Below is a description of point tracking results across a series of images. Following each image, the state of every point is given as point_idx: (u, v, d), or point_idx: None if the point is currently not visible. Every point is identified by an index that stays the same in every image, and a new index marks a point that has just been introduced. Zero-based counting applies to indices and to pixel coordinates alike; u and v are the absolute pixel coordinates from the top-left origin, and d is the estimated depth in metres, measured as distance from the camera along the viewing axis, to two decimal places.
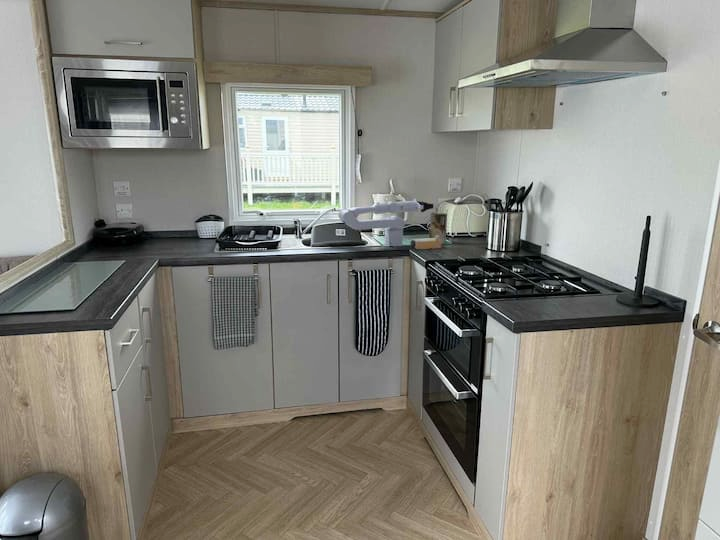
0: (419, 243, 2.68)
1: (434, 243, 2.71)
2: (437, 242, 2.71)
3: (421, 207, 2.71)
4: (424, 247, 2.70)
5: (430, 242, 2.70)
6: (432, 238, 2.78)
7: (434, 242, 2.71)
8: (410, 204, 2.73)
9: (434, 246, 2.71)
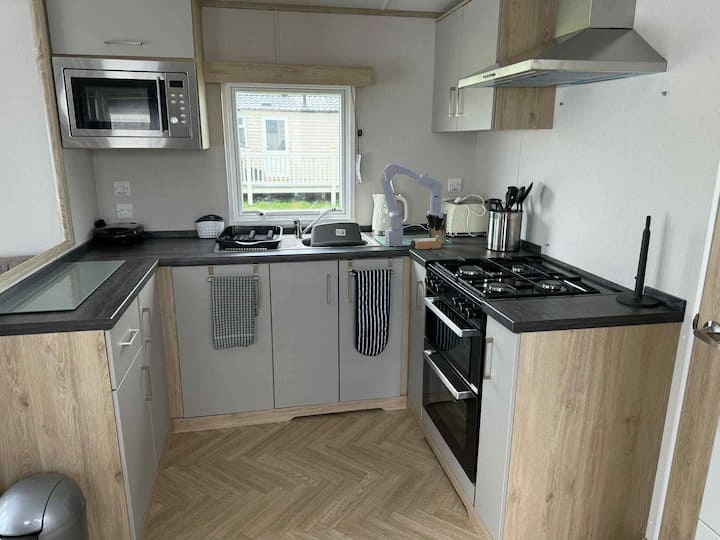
0: (419, 243, 2.68)
1: (434, 243, 2.71)
2: (437, 242, 2.71)
3: (441, 215, 2.65)
4: (424, 247, 2.70)
5: (430, 242, 2.70)
6: (432, 238, 2.78)
7: (434, 242, 2.71)
8: (439, 206, 2.69)
9: (434, 246, 2.71)
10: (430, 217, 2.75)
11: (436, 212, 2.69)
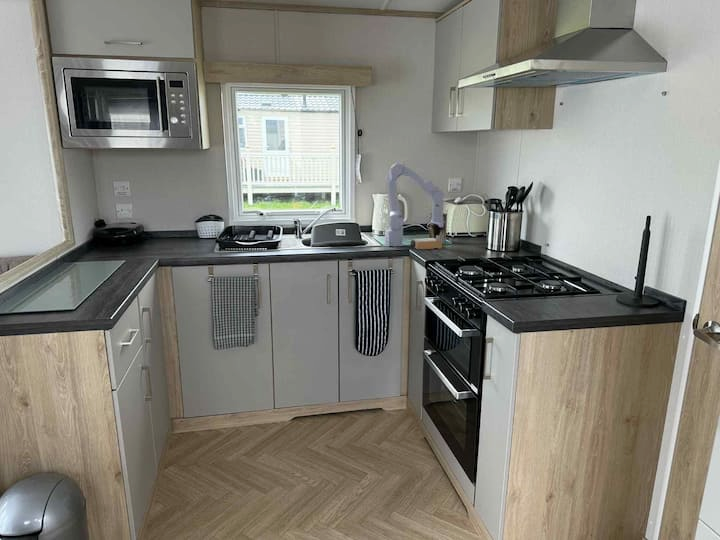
0: (419, 243, 2.68)
1: (434, 243, 2.70)
2: (438, 242, 2.71)
3: (441, 225, 2.63)
4: (424, 247, 2.69)
5: (430, 242, 2.70)
6: (432, 238, 2.78)
7: (434, 242, 2.70)
8: (441, 215, 2.67)
9: (434, 246, 2.71)
10: None
11: (437, 221, 2.67)
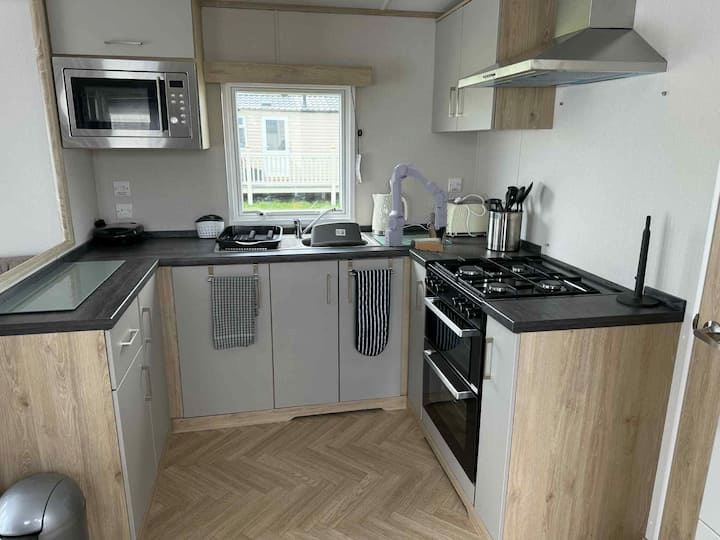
0: (418, 243, 2.67)
1: (434, 246, 2.64)
2: (438, 245, 2.63)
3: (436, 227, 2.56)
4: (424, 248, 2.67)
5: (430, 244, 2.65)
6: (432, 238, 2.78)
7: (434, 245, 2.64)
8: (442, 218, 2.59)
9: (434, 249, 2.64)
10: (438, 229, 2.64)
11: (437, 223, 2.60)
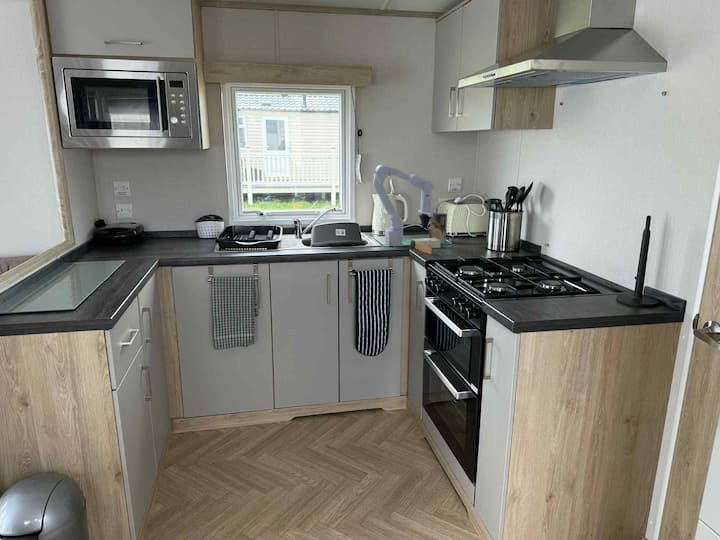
0: (417, 243, 2.67)
1: (426, 247, 2.60)
2: (427, 247, 2.58)
3: (431, 214, 2.69)
4: (420, 249, 2.65)
5: (423, 245, 2.61)
6: (432, 238, 2.78)
7: (426, 246, 2.59)
8: (430, 205, 2.73)
9: (426, 251, 2.60)
10: None
11: (426, 211, 2.73)
